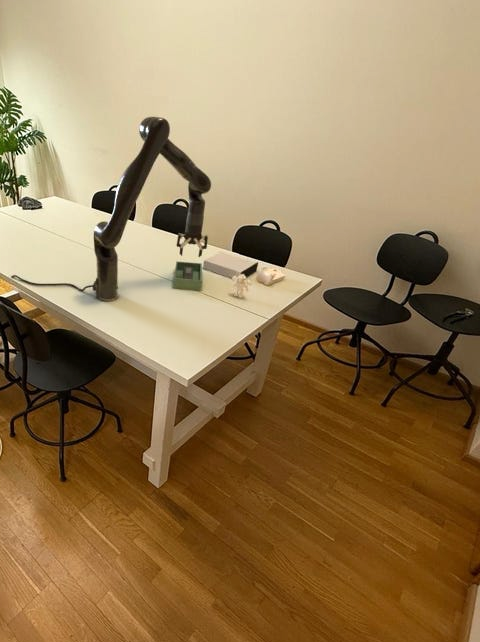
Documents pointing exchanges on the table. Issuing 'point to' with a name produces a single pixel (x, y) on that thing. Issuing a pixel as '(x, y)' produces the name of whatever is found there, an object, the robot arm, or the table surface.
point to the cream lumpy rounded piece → (269, 275)
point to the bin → (188, 283)
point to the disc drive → (230, 265)
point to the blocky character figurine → (240, 284)
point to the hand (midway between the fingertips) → (190, 255)
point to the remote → (188, 273)
